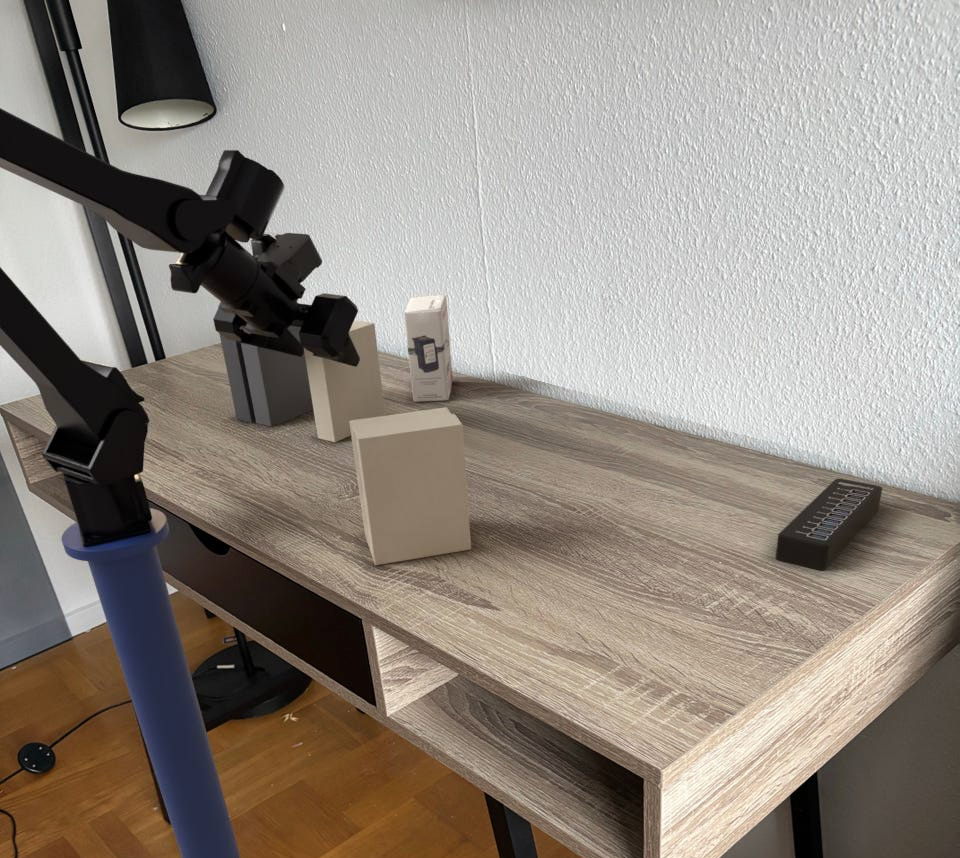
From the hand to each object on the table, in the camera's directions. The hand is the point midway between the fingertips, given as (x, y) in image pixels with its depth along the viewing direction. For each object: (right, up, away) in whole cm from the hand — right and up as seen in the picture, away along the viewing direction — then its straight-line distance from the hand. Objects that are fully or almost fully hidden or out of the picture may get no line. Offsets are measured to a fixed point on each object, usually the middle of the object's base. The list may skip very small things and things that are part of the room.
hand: (329, 357), depth 111 cm
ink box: (+11, 0, +17) cm, 21 cm away
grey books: (-9, -3, +14) cm, 16 cm away
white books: (+12, -24, -22) cm, 34 cm away
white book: (+2, -7, +6) cm, 10 cm away
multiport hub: (+49, -24, -25) cm, 60 cm away
